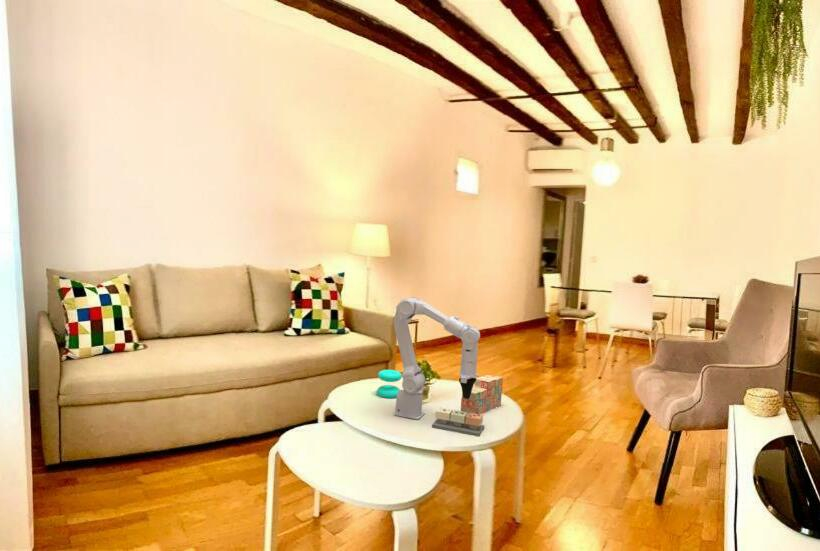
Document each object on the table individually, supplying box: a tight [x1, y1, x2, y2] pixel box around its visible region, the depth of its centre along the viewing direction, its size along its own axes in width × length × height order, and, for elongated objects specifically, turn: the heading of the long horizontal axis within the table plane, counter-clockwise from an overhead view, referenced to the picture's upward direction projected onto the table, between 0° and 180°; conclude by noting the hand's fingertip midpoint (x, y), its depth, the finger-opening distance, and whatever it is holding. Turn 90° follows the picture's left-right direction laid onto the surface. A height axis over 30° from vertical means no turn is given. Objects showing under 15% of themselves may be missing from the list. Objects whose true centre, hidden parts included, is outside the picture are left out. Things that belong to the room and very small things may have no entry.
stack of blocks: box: [460, 374, 504, 415], centre depth 205 cm, size 21×6×12 cm, turn 141°
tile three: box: [465, 413, 484, 426], centre depth 180 cm, size 5×5×3 cm
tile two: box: [450, 409, 468, 423], centre depth 181 cm, size 5×5×3 cm
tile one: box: [434, 407, 454, 421], centre depth 183 cm, size 5×5×3 cm
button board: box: [431, 418, 485, 437], centre depth 182 cm, size 17×9×3 cm, turn 70°
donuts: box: [376, 369, 403, 399], centre depth 215 cm, size 10×10×10 cm
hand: (466, 398), depth 184 cm, fingers closed
